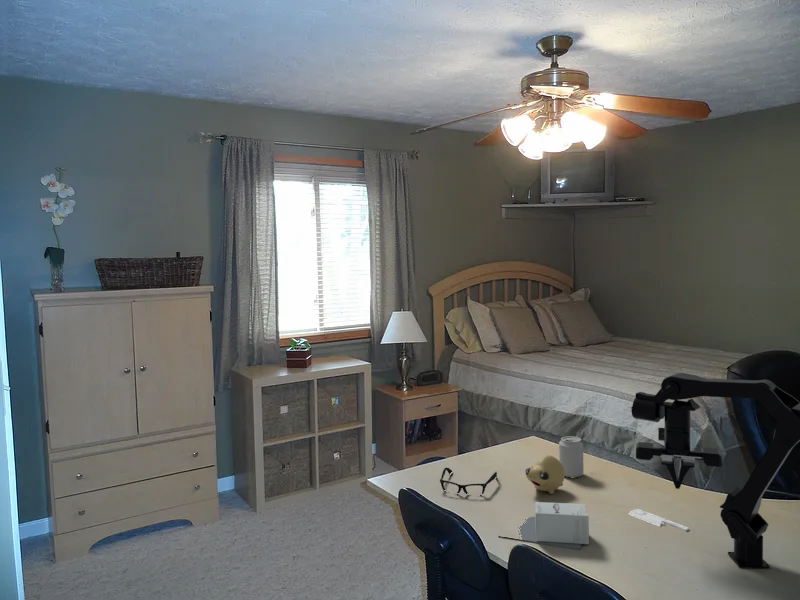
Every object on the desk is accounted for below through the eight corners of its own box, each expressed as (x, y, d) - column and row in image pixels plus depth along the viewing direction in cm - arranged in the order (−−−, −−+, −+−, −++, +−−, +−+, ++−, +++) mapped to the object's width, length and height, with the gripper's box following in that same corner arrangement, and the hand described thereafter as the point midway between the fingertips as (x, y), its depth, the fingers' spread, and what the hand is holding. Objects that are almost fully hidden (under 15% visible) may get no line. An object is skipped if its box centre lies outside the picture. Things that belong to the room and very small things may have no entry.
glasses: (435, 497, 182) (434, 481, 181) (449, 474, 198) (449, 459, 198) (489, 502, 176) (489, 486, 176) (499, 478, 193) (499, 463, 192)
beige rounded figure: (519, 492, 180) (519, 457, 179) (543, 481, 188) (543, 448, 187) (547, 501, 172) (546, 465, 172) (571, 490, 180) (570, 455, 179)
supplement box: (588, 515, 145) (535, 513, 147) (589, 545, 145) (536, 542, 148) (585, 503, 152) (534, 500, 154) (586, 531, 152) (535, 528, 155)
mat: (586, 525, 157) (586, 524, 156) (580, 549, 144) (580, 548, 144) (510, 514, 164) (510, 513, 164) (498, 537, 152) (498, 535, 152)
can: (554, 473, 195) (554, 437, 194) (572, 469, 198) (572, 433, 197) (570, 480, 188) (569, 443, 187) (588, 476, 191) (588, 439, 190)
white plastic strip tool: (677, 536, 150) (677, 532, 150) (626, 516, 162) (626, 512, 162) (689, 530, 152) (689, 526, 152) (638, 511, 165) (638, 507, 165)
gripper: (717, 419, 149) (717, 481, 150) (637, 414, 156) (637, 472, 157) (722, 432, 139) (721, 498, 140) (635, 425, 146) (636, 488, 147)
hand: (677, 488), depth 146 cm, fingers closed
